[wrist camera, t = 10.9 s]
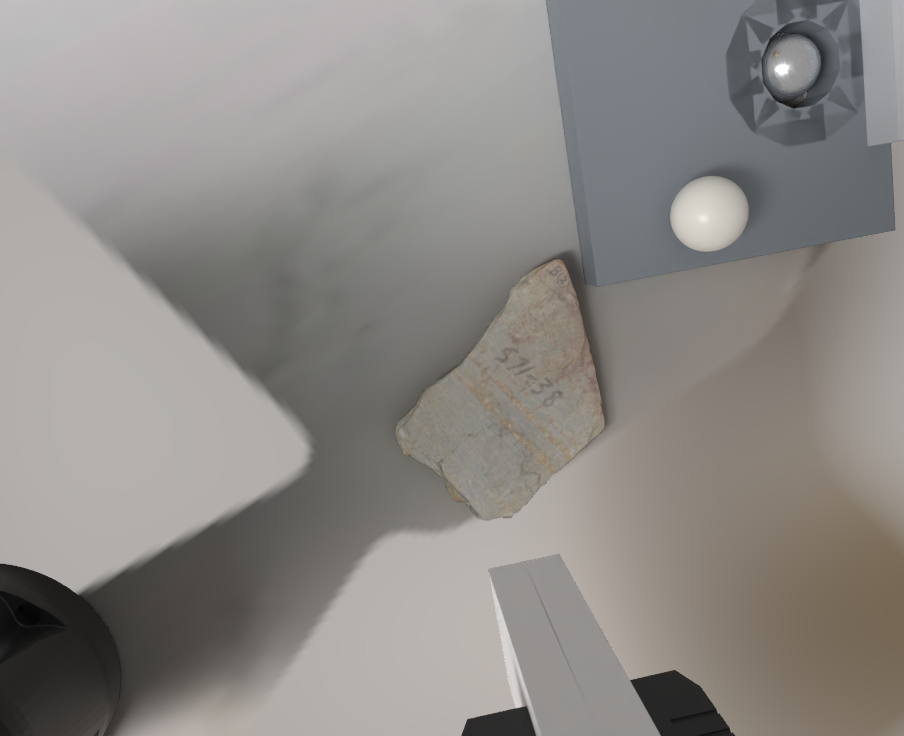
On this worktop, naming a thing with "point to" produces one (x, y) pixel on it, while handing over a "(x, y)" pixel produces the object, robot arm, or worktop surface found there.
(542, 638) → the robot arm
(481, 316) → the worktop surface
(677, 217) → the white ball
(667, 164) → the board
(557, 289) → the stone
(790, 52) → the steel ball
